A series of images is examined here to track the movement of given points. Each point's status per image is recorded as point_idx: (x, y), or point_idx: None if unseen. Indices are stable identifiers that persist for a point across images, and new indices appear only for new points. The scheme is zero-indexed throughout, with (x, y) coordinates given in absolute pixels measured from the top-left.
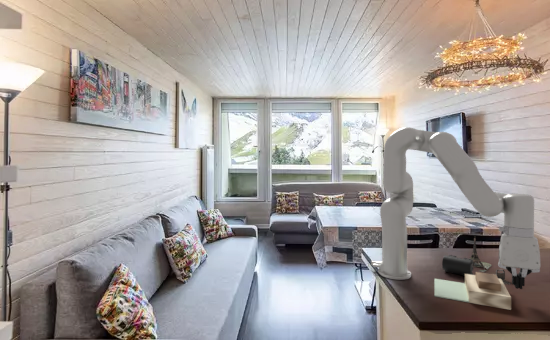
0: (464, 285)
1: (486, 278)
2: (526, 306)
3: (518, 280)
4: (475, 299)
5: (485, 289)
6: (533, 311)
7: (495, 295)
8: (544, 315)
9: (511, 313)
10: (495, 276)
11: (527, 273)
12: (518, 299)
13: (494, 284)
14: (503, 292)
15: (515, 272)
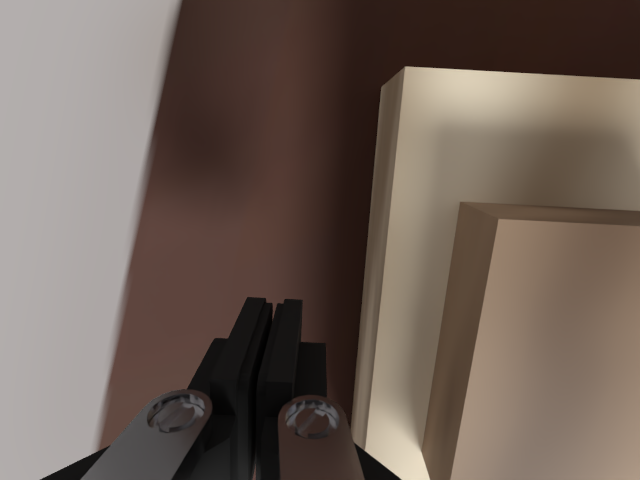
0: None
1: (608, 362)
2: (252, 212)
3: (270, 350)
4: None
5: (606, 196)
6: (224, 134)
7: (548, 76)
8: (164, 88)
9: (397, 14)
10: (470, 464)
11: (99, 467)
12: None
13: (563, 219)
14: (442, 186)
15: (298, 447)
